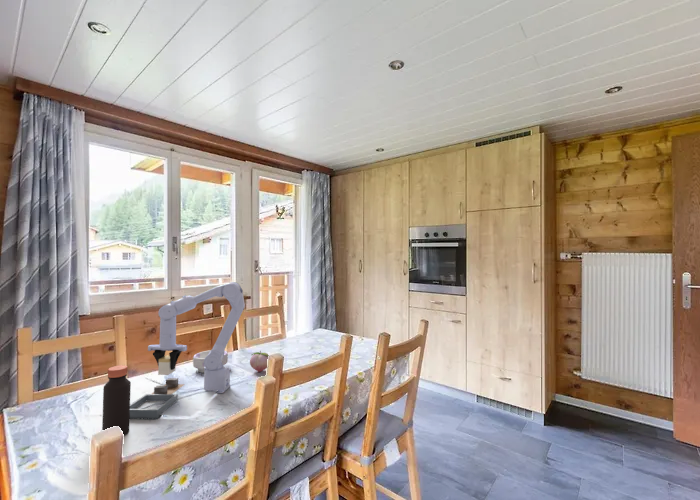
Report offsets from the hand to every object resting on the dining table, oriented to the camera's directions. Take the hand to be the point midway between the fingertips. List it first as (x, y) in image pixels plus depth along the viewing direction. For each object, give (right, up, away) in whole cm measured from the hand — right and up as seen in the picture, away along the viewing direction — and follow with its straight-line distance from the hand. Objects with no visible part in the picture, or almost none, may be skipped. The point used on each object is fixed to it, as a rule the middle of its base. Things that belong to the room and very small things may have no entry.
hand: (167, 369), depth 131 cm
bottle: (+2, -9, -31) cm, 33 cm away
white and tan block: (0, -1, 0) cm, 1 cm away
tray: (+3, -9, -15) cm, 18 cm away
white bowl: (+6, -11, +27) cm, 29 cm away
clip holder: (0, -9, 0) cm, 9 cm away
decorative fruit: (+30, -11, +26) cm, 41 cm away
